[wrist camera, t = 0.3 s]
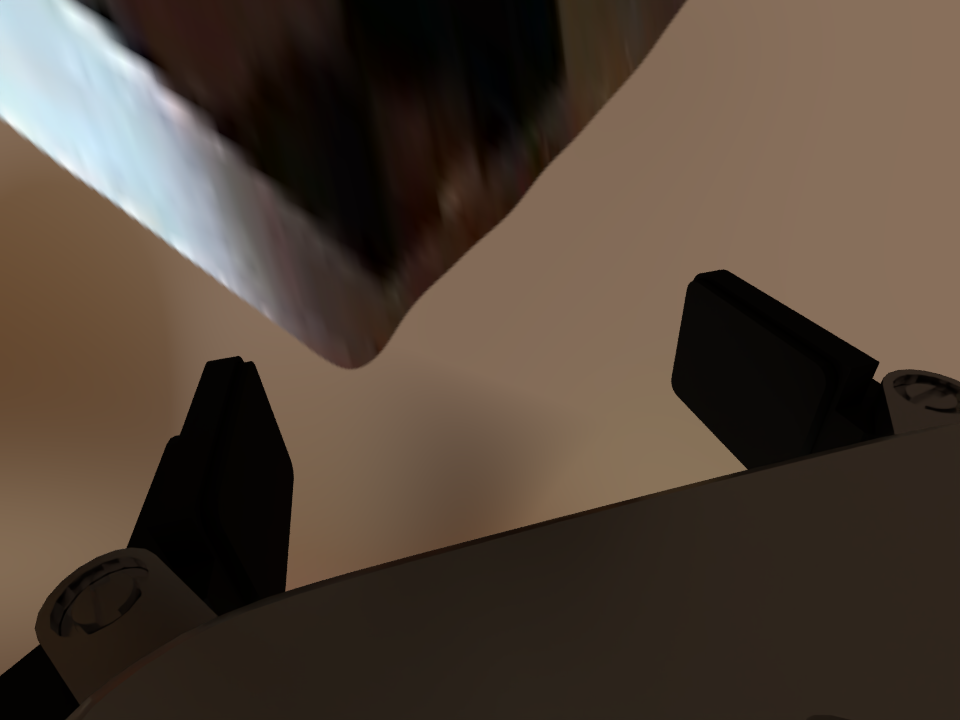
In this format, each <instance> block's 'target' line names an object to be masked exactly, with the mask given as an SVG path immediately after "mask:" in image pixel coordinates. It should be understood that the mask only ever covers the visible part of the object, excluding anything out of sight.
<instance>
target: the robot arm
mask: <svg viewBox="0 0 960 720" xmlns="http://www.w3.org/2000/svg"><path fill="white" fill-rule="evenodd" d="M878 365H879V361H877V360H875V359H873V358H872V357H870V356H869V355H867V354H865V353H864V352H862V351H860V350H859V349H857V348H855V347H854V346H852V345H850V344H849V343H847V342H845V341H844V340H842V339H840V338H838V337H837V336H835V335H833V334H832V333H830V332H829V331H827V330H825V329H824V328H822V327H820V326H819V325H817V324H815V323H814V322H812V321H810V320H809V319H807V318H805V317H804V316H802V315H800V314H799V313H797V312H795V311H794V310H792V309H790V308H789V307H787V306H786V305H784V304H782V303H780V302H779V301H777V300H775V299H774V298H772V297H771V296H769V295H767V294H766V293H764V292H762V291H761V290H759V289H757V288H756V287H754V286H752V285H750V284H749V283H747V282H746V281H744V280H742V279H741V278H739V277H737V276H736V275H734V274H732V273H731V272H729V271H727V270H717V271H712V272H706V273H700V274H698V275H697V276H696V277H695V278H694V280H693V281H692V282H690V284H689V285H688V287H687V292H686V297H685V303H684V309H683V315H682V321H681V326H680V332H679V338H678V344H677V349H676V356H675V361H674V367H673V373H672V378H671V382H672V388H673V390H674V392H675V394H676V395H677V396H678V397H679V398H680V399H681V400H682V401H683V402H684V403H685V404H686V405H687V407H688V408H689V409H690V410H691V411H692V412H693V413H694V414H695V415H696V416H697V417H698V418H699V419H700V420H701V421H702V422H703V423H704V424H705V425H706V426H707V427H708V429H710V431H711V432H713V434H714V435H715V436H716V437H717V438H718V439H719V440H720V441H721V442H722V443H723V444H724V445H725V446H726V447H727V448H728V449H729V450H730V452H731V453H733V455H734V456H735V457H736V458H737V459H738V460H739V461H740V462H741V463H742V464H743V465H744V466H745V467H746V468H747V469H748V470H745V471H741V472H737V473H733V474H729V475H725V476H721V477H717V478H713V479H709V480H705V481H701V482H697V483H693V484H689V485H685V486H681V487H677V488H673V489H669V490H665V491H661V492H657V493H654V494H649V495H646V496H641V497H638V498H634V499H630V500H626V501H622V502H618V503H614V504H610V505H606V506H602V507H598V508H594V509H591V510H587V511H583V512H579V513H575V514H571V515H567V516H563V517H559V518H555V519H552V520H547V521H544V522H540V523H536V524H532V525H528V526H525V527H521V528H517V529H513V530H509V531H505V532H501V533H497V534H494V535H490V536H486V537H482V538H478V539H474V540H471V541H467V542H463V543H459V544H455V545H452V546H447V547H444V548H440V549H436V550H432V551H428V552H425V553H421V554H417V555H413V556H409V557H406V558H402V559H398V560H395V561H391V562H387V563H383V564H380V565H376V566H373V567H369V568H366V569H361V570H358V571H354V572H350V573H347V574H344V575H340V576H336V577H333V578H329V579H326V580H322V581H319V582H316V583H312V584H309V585H306V586H302V587H299V588H296V589H293V590H290V591H286V592H285V587H286V574H287V561H288V547H289V535H290V521H291V507H292V495H293V481H294V474H293V467H292V463H291V459H290V457H289V454H288V451H287V449H286V446H285V443H284V441H283V438H282V435H281V433H280V430H279V427H278V425H277V422H276V419H275V417H274V414H273V411H272V409H271V406H270V403H269V401H268V398H267V395H266V393H265V390H264V387H263V385H262V382H261V379H260V377H259V375H258V371H257V369H256V366H255V364H254V363H253V362H252V361H250V362H244V361H243V360H242V358H241V357H240V356H236V357H231V358H225V359H219V360H213V361H208V362H207V363H206V365H205V368H204V370H203V373H202V376H201V379H200V381H199V384H198V387H197V389H196V392H195V395H194V398H193V400H192V403H191V406H190V409H189V412H188V414H187V417H186V420H185V422H184V425H183V428H182V431H181V433H180V435H178V436H174V437H173V438H171V439H170V440H169V442H168V443H167V445H166V448H165V450H164V453H163V455H162V458H161V461H160V463H159V466H158V468H157V471H156V473H155V476H154V479H153V481H152V484H151V487H150V489H149V492H148V494H147V497H146V499H145V502H144V504H143V507H142V510H141V512H140V515H139V517H138V520H137V523H136V525H135V528H134V530H133V533H132V535H131V538H130V541H129V543H128V546H127V548H126V549H120V550H115V551H112V552H109V553H107V554H104V555H102V556H99V557H96V558H95V559H93V560H91V561H89V562H88V563H86V564H85V565H83V566H81V567H79V568H78V569H76V570H75V571H74V572H73V573H71V574H70V575H69V576H68V577H66V578H65V579H64V580H63V581H62V582H61V583H60V584H59V585H58V586H57V587H56V588H55V589H54V590H53V592H52V593H51V594H50V595H49V596H48V597H47V599H46V601H45V603H44V604H43V606H42V608H41V609H40V611H39V613H38V616H37V621H36V625H35V631H36V635H37V638H38V641H39V643H40V645H38V646H37V647H36V648H35V649H33V650H32V651H31V652H30V653H28V654H27V655H26V656H25V657H23V658H22V659H21V660H20V661H18V662H17V663H16V664H15V665H13V666H12V667H11V668H10V669H8V670H7V671H6V672H5V673H3V674H2V675H1V676H0V720H960V382H959V381H957V380H955V379H952V378H949V377H946V376H943V375H940V374H936V373H932V372H927V371H921V370H910V369H909V370H897V371H894V372H890V373H888V374H887V375H886V376H885V377H884V378H883V380H882V382H881V384H880V383H878V382H877V381H875V380H874V379H872V378H873V376H874V374H875V371H876V369H877V367H878Z"/></svg>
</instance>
